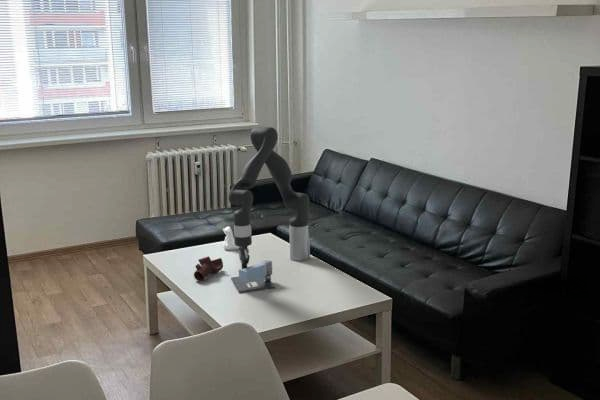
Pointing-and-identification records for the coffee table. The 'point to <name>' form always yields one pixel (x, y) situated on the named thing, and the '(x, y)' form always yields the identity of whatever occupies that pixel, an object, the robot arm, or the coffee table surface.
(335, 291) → the coffee table surface
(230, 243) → the sitting furry creature
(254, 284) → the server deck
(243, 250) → the robot arm
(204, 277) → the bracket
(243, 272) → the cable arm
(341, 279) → the coffee table surface
